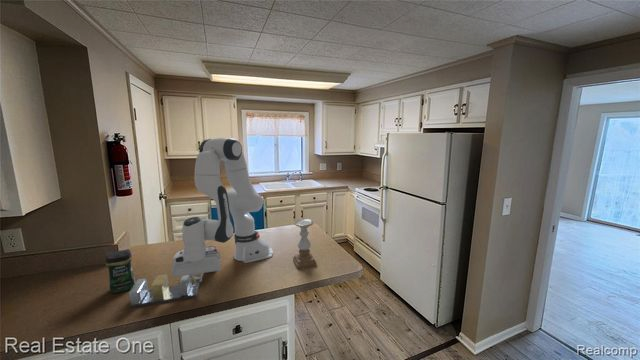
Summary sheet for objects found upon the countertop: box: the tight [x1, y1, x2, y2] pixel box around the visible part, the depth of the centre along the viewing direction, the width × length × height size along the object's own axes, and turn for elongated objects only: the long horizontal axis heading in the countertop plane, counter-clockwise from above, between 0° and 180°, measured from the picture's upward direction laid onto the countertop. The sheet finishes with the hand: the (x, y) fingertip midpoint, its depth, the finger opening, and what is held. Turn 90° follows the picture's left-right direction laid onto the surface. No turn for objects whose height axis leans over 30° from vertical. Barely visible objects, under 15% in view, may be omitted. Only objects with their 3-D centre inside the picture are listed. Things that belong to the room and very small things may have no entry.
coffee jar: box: [105, 248, 136, 294], centre depth 121 cm, size 10×8×19 cm
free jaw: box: [178, 275, 192, 296], centre depth 122 cm, size 3×16×6 cm, turn 16°
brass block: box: [151, 273, 170, 300], centre depth 116 cm, size 4×8×7 cm, turn 15°
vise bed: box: [128, 277, 201, 309], centre depth 117 cm, size 25×10×7 cm, turn 106°
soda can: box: [206, 245, 218, 252], centre depth 138 cm, size 7×7×12 cm
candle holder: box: [292, 218, 317, 270], centre depth 144 cm, size 11×11×24 cm
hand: (198, 281), depth 120 cm, fingers closed
